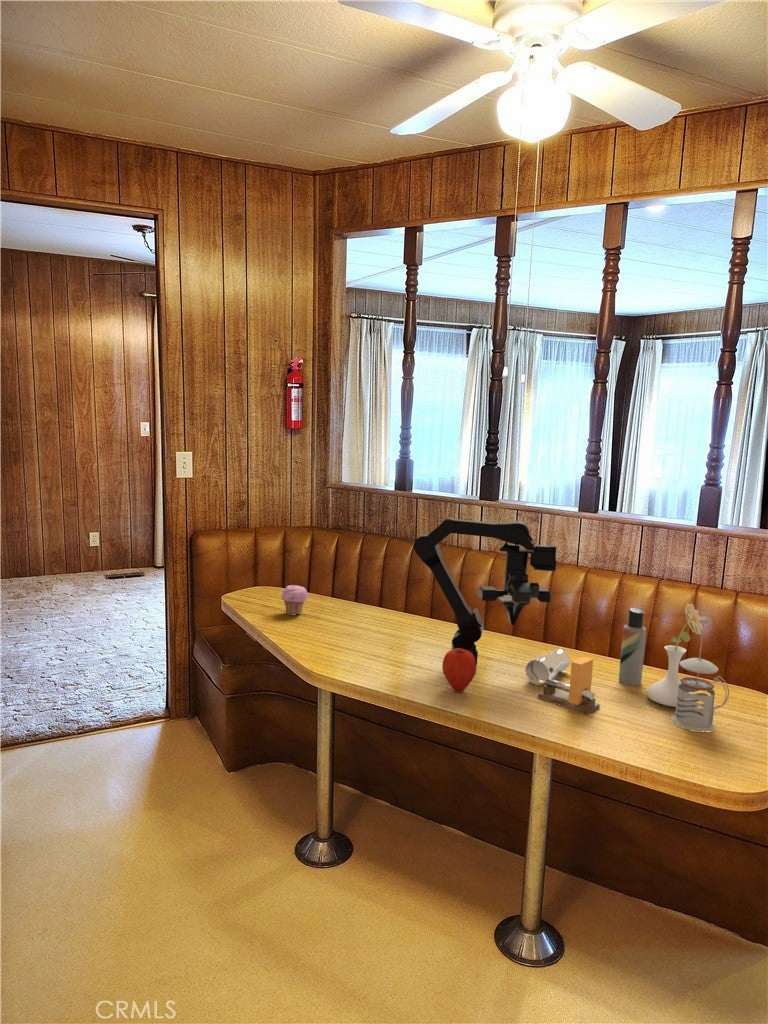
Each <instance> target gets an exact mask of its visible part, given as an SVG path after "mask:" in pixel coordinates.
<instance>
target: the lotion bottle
mask: <svg viewBox="0 0 768 1024" xmlns="http://www.w3.org/2000/svg"><path fill="white" fill-rule="evenodd" d="M644 616H645V610H642V609H640V608H638V607H631V608H630V609H629V610H628V613H627V623H626V624H624V625H623V628H622V637H621V638H622V639H621V650H620V658H619V660H620V661H619V669H618V670H619V672H618V681H619V682H620V683H621V684H623V685H625V686H630V687H631V686H632V687H638V686H640V685H641V684H642V677H643V669H644V668H643V666H644V657H645V650H646V649H645V647H646V638H647V637H646V635H647V628H646V627H645V626H644V619H645V617H644Z"/></svg>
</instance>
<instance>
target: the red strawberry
mask: <svg viewBox="0 0 768 1024" xmlns="http://www.w3.org/2000/svg"><path fill="white" fill-rule="evenodd" d="M441 667H442V668H441V669H442V673H443V675H444V678H445V680H446V681H447V683H448V684H449V686H450V687H451V689H452V690H453V691H454V692H457V693H462V692H464V691H465V689H467V687H468V686H469V684H471V682H472V681H473V679H474V677H475V675H476V671H477V668H476V667H477V665H476V662H475V658H474V656H473V654H472V653H471V652H470V651H468V650H465V649H462V648H455V649H452V650H451V649H450V650H449V651H447V652H446V653H445V655H444V657H443V659H442V666H441Z"/></svg>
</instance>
